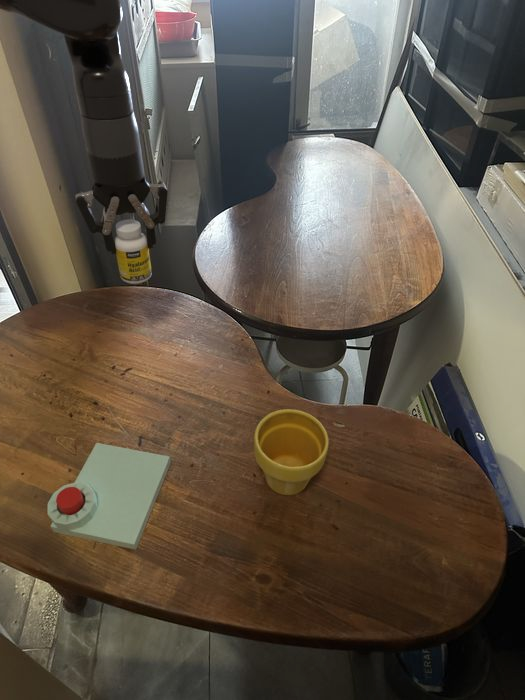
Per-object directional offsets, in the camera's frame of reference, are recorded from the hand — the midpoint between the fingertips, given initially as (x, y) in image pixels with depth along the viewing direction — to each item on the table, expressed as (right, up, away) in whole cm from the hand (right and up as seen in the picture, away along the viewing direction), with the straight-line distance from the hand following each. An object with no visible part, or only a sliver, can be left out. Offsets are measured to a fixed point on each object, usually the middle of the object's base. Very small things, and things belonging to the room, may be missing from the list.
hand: (132, 248), depth 80 cm
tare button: (-4, -38, -14) cm, 41 cm away
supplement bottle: (0, -4, +4) cm, 6 cm away
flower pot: (+26, -36, -7) cm, 45 cm away
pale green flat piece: (0, -38, -10) cm, 39 cm away
